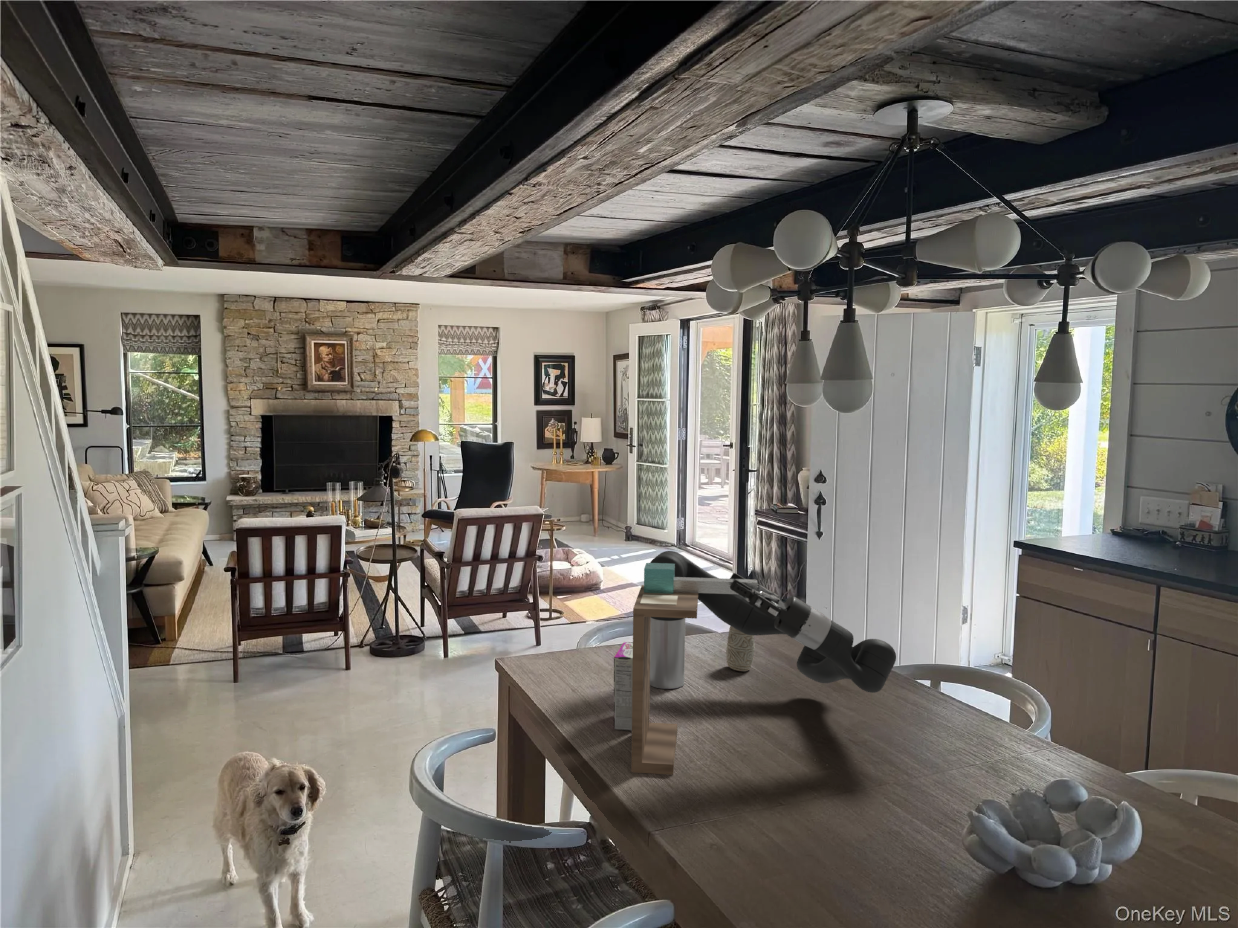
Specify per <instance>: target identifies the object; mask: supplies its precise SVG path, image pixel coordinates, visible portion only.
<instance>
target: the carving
mask: <svg viewBox="0 0 1238 928" xmlns="http://www.w3.org/2000/svg"><path fill="white" fill-rule="evenodd" d="M727 635H728V636H727V642H726V651H725V652H726V653H725V655H726V657H725V658H726V659H725V660H726V664H727V666H728V668H730V669H731V670H733V671H738V672H743V673H744V672H748V671H749V670H750V669H751V667H752V663H753V661H754V657H755V650H756V649H755V646H756V645H755V642H756V641H755V635H747V634H744V633H742V632H741V631H739V630H737V629H735V628H733V627H732V626H730V625H729V630H728V634H727Z"/></svg>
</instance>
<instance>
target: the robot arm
mask: <svg viewBox="0 0 1238 928" xmlns="http://www.w3.org/2000/svg"><path fill="white" fill-rule="evenodd" d="M649 563H667V564H675V577H691V578H718V577H717V576H715V575H714V574H711V573H709V572H708V571H706V570H704V569H703V568H702V567H700V566H698V565H697V564H696V563H694V562H693V561H691V560H690V559H689V558H687V557H686V556H684V555H683V554H681V553H679V552H677V551H674V550H667V551H663V552H660V553H659V554H658V555H656V556H655V557H653V559H652V560H651V561H650V562H649ZM729 579H735V580H734V581H733V582H732V584H731V585H730V589H731V590H733V591H734V592H736V593H738V594H715V593H698V602H701V604H703V606H705V607H706V608H707V609H708V610H709V611H710V612H711V613H713V615H715V616H716V617H717V618H718V619H719V620H721V621H722V622H724V623H725V624H727V625H728V626H729V627H730V626H732V627H733V628H735V629H737V630H739V631H741V632H742V633H744V634H747V635H754V636H771V635H786V636H787V637H790V638H791V639H793V640H794V641H796V642H798V643H800V644H801V645H802V646H803V647H802V650H801V652H800V653H799V655H798V658H797V661H796V667H797V669H798V671H799V672H800V673H801V674H803V675H804V676H805V677H806V678H808V679H810V680H812V681H814V682H817V683H821V684H830V683H835V682H838V681H841V680H851V681H852V682H853V683H854V684H855V686H856V687H858V688H859V689H861V691H864V692H867V693H870V694H871V693H878V692H881V690H882V689H883V688H884V686H885V685H886V682H887V680H888V678H889V676H890V674H891V672H892V670H893V667H894V666H895V664H896V662H897V654H896V651H895V649H894V647H893V646H892V645H891V644H890V643H888V642H886V641H884V640H882V639H878V638H869V639H864V640H862V641H860V642H858V643H857V644H855V645H854V635H853V633H852V632H851V631H849V630H848V629H846V628H845V627H844V626H842V625H840V624H838V623H837V622H835V621H833V620H831V619H830V618H829V617H827V616H826V615H825V614H823V613H822V612H821V611H820V610H818V609H816V608H814V607H812V606H811V605H809V604H808V603H806V602H804V601H803V600H801V599H799V598H798V597H796V596H792V595H791V596H790V597H788V598H787V599H786V601H782V600H781V599H780V595H778V594H776V593H775V592H774V591H772V590H770V589H768V588H766V587H764V586H763V585H761V584H759V583H758V588H757V591H756V590H754V589H751V588H750V587H748V586H746V585H745V584H743V583H741V582H740V581H738V580H736V579H746V578H744V577H743V576H741V575H739V574H738V573H736V572H734V573H732V575H731V576H730V578H729ZM750 589H751V590H750ZM685 665H686V618H668V617H651V638H650V687H654V688H656V689H662V690H663V689H665V690H672V689H678V688H682V687H683V686H684V685H685V669H686V667H685Z"/></svg>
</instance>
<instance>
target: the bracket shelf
mask: <svg viewBox="0 0 1238 928" xmlns="http://www.w3.org/2000/svg"><path fill="white" fill-rule="evenodd" d="M637 594H638V595H637V597H636V599H635V602H634V605H633V608H632V612H633V613H632V643H633V674H632V731H631V763H630V764H631V766H630V767H631V768H630V769H631V770H630V771H631V773H638V774H639V773H640V774H642V773H643V774H653V775H654V774H655V775H656V774H657V775H672V776H674V769H675V760H676V759H675V758H676V749H677V737H678V723H667V722H666V723H665V722H650V709H651V708H650V706H651V705H650V704H651V703H650V702H651V701H650V700H651V699H650V698H651V697H650V696H651V695H650V694H651V685H650V638H651V617H668V618H685V619H695V620H697V619H698V605H699V600H698V593H686V592H674V593H673V594H666V593H644V584H641V586H640V589H639V591H638V593H637Z"/></svg>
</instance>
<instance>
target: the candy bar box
mask: <svg viewBox="0 0 1238 928" xmlns="http://www.w3.org/2000/svg"><path fill="white" fill-rule="evenodd" d="M632 674H633V642H629V641H624V642H623V643H622V644H621V645H620V647H619V649H618V651H617V652H616V653H615V654H614V656H613V729H614V730H616V731H623V732H625V731H627V732H632Z"/></svg>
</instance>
